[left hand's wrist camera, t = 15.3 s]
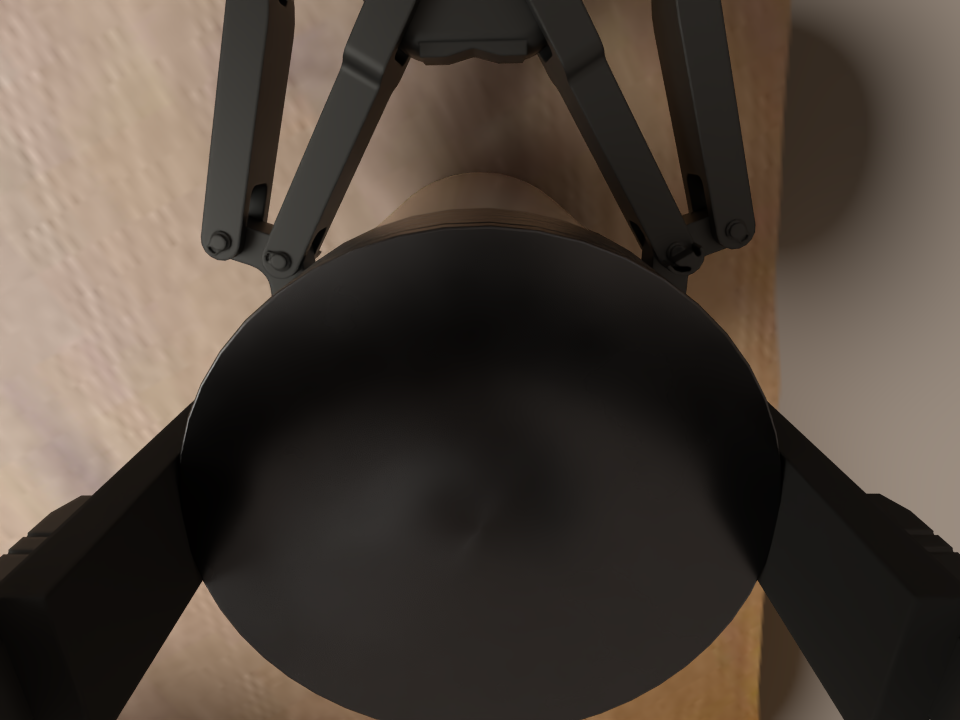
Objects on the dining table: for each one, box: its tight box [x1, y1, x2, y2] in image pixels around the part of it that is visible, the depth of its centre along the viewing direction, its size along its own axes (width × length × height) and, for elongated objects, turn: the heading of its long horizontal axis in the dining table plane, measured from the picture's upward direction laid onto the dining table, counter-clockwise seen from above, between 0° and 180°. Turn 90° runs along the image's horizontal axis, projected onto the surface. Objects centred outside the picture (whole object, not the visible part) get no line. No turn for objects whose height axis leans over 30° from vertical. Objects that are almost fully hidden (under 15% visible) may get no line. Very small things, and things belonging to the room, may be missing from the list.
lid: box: [179, 208, 781, 720], centre depth 12 cm, size 11×11×2 cm
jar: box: [377, 172, 586, 229], centre depth 19 cm, size 10×10×18 cm
